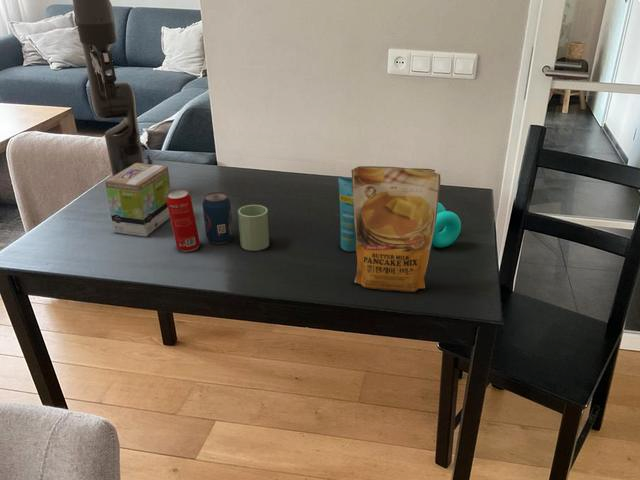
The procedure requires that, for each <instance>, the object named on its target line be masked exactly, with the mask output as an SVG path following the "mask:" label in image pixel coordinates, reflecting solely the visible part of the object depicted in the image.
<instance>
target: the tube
mask: <svg viewBox="0 0 640 480" xmlns="http://www.w3.org/2000/svg"><path fill="white" fill-rule="evenodd" d="M337 180H338V193H339V213H340V214H339V216H340V248H341V249H342V251H344V252H345V251H346V252H356V231H355V223H354V207H353V192H352V177H345V176H341V175H337Z"/></svg>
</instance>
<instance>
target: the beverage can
mask: <svg viewBox="0 0 640 480" xmlns="http://www.w3.org/2000/svg"><path fill="white" fill-rule="evenodd" d="M166 201H167V205H168V210H169V214H170V218H169V219H170V224H171V227H172V232H173V236H174V241H175V245H176V246H175V247H176V249H177V250H179V251H180V252H184V253H186V252H187V253H188V252H193V251H196V250H197V249H198V248H199V247H200V245H201V241H200V237H199V231H198V227H197V222H196V216H195V210H194V206H193V201H192V196H191V195H190V193H189V191H188V190H187V189H174V190H171V192H169V193H168V194H167V200H166Z"/></svg>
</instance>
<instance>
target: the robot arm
mask: <svg viewBox="0 0 640 480" xmlns="http://www.w3.org/2000/svg"><path fill="white" fill-rule="evenodd" d="M72 5H73V13H74V16H75V21H76V22H75V23H76V27H77V32H78V37H79V41H80V43H81V46H82V51H83V55H84V59H85V65H86V71H87V78H88V85H89V91H90V98H91V102H92V103H91V104H92V108H93V111H94V113H95V116H96V117H97V118H98V119H100V120H110V119H122V118H123V120H122V121H121V122H120V123H119V124H117V125H115V126H113V127H111V128H109V129H108V130H106V131H105V132H104V141H105V144H106V149H107V154H108V159H109V165H110V170H111V175H112V177H113V176H114V175H116V174H118V173H119V172H121V171H123V170H125V169H126V168H128V167H130V166H131V165H133V164H135V163H142V164H145V159H144V158H145V157H144V152H143V148H142V141H141V140H142V139H141V136H140V130H139V124H138V116H137V107H136V97H135V93H134V90H133V87H132V86H131V84H130V83H129V82H116V81H117V76H116V71H115V66H114V65H115V64H114V60H113V54H112V52H110V49H111V47H112V45H113V44H115V43H117V36H116V33H117V26H116V20H115V15H114V14H115V13H114V11H113V10H114V9H113V5H112V2H111V0H72ZM146 158H147V163H146V164H150V165H151V157H150V156H149V155H146Z"/></svg>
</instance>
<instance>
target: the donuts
mask: <svg viewBox="0 0 640 480" xmlns="http://www.w3.org/2000/svg"><path fill="white" fill-rule="evenodd" d="M442 229H443V230H442ZM461 230H462V223H461V219H460V217H459V215H457V213H455V212H453V211H449V210H447V209H446V207H445V206H444V205H443V204H442V203H441V202H439V201H438V210H437V219H436V223H435V228H434V234H433V239H432V244H431V247H432V246H433V247H435V248H437V249H439V248H440V249H442V248H446V247H449V246H451V245H452V244H453V243H454V242H455V241H456V240H457V239H458V238H459V236H460V233H461Z"/></svg>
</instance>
